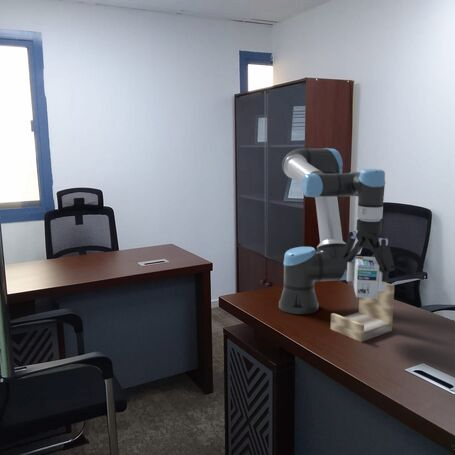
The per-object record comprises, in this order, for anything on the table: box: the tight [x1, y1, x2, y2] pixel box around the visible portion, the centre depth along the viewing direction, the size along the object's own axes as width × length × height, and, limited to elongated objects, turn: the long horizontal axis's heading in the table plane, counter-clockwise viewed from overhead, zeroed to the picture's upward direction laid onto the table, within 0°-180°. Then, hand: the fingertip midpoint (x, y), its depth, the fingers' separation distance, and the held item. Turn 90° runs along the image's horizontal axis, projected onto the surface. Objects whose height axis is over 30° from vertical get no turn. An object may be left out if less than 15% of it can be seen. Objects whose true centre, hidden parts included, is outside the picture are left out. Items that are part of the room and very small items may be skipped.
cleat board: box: [330, 281, 395, 343], centre depth 154 cm, size 13×16×16 cm
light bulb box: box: [353, 255, 380, 299], centre depth 147 cm, size 11×7×11 cm, turn 169°
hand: (365, 285), depth 147 cm, fingers closed on light bulb box, 12 cm apart
